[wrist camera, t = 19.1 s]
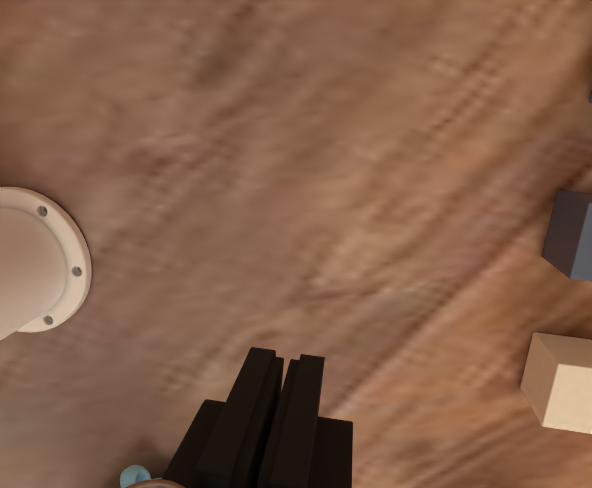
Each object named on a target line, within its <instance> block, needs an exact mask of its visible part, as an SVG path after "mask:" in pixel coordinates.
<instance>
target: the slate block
mask: <svg viewBox="0 0 592 488" xmlns="http://www.w3.org/2000/svg"><path fill="white" fill-rule="evenodd" d="M542 257H543V258H544V259H546V260H547V261H548V262H549V263H551V264H552V265H553V266H554V267H556V268H557V269H558V270H560V271H561V272H562V273H563V274H565V275H566V276H567V277H568V278H570V279H577V280H585V281H592V194H589V193H580V192H570V191H560V190H558V191H557V195H556V199H555V203H554V208H553V212H552V216H551V220H550V225H549V229H548V233H547V237H546V241H545V246H544V250H543V254H542Z"/></svg>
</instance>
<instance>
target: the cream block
mask: <svg viewBox="0 0 592 488" xmlns="http://www.w3.org/2000/svg"><path fill="white" fill-rule="evenodd" d="M520 389H521V391H522V393H523V394H524V396H525V398H526V399H527V401H528V403H529V405H530V406H531V408H532V410H533V411H534V413H535V415H536V417H537V418H538V420H539V422H540V423H541V425H542V426H543V427H550V428H556V429H563V430H570V431H577V432H583V433H590V434H592V340H591V339H583V338H575V337H568V336H560V335H552V334H545V333H537V332H534V333H533V336H532V340H531V345H530V349H529V353H528V357H527V361H526V365H525V369H524V374H523V378H522V382H521V386H520Z"/></svg>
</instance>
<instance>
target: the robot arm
mask: <svg viewBox="0 0 592 488" xmlns="http://www.w3.org/2000/svg"><path fill="white" fill-rule="evenodd" d="M91 272H92V265H91V259H90V253H89V250H88V247H87V244H86V242H85V239H84V237H83V235H82V233H81V232H80V230H79V228H78V226H77V225H76V223H75V222H74V221H73V220H72V218H71V217H70V216H69V215H68V214H67V213H66V212H65V211H64V210H63V209H62V208H61V207H60V206H59V205H58V204H56V203H55V202H53V201H52V200H50V199H49V198H47V197H45V196H44V195H42V194H39V193H37V192H34V191H32V190H29V189H24V188H20V187H0V341H1V340H2V339H4V338H6V337H7V336H9V335H10V334H12V333H13V332H15V331H19V332H39V331H46V330H48V329H51V328H54V327H57V326H58V325H60V324H61V323H63V322H64V321H66V320H67V319H69V318H70V317H71V316H72V315H73V314H75V313H76V312H77V311H78V309H79V308H80V307H81V305H82V304H83V303H84V301H85V298H86V296H87V294H88V292H89V288H90V283H91ZM324 360H325V357H319V356H311V355H304V354H301V356H300V360H294V359H291V360H290V363H289V367H288V371H287V374H286V378H285V381H284V385H283V388H282V392H281V387H282V376H283V365H284V358H280V357H276V351H275V350H269V349H262V348H255V347H251V349H250V351H249V353H248V355H247V357H246V359H245V362H244V364H243V366H242V368H241V370H240V372H239V375H238V377H237V379H236V381H235V383H234V385H233V388H232V390H231V392H230V394H229V396H228V398H227V401H226V402H221V401H214V400H208V399H207V400H205V401H204V402H203V404H202V405H201V407H200V409H199V411H198V413H197V414H196V416H195V418H194V420H193V422H192V424H191V426H190V427H189V429H188V431H187V433H186V435H185V437H184V439H183V440H182V442H181V444H180V446H179V448H178V450H177V452H176V453H175V455H174V457H173V459H172V461H171V463H170V464H169V466H168V468H167V470H166V472H165V474H164V476H163V477H162V479H154V480H144V481H141V482H137V483H134V484H131V485H129V486H128V487H126V488H352V442H353V422H350V421H344V420H337V419H331V418H324V417H318V411H319V403H320V394H321V386H322V377H323V368H324Z"/></svg>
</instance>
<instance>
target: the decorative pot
mask: <svg viewBox="0 0 592 488" xmlns="http://www.w3.org/2000/svg"><path fill="white" fill-rule="evenodd" d="M155 479H162V477H161V478H155ZM144 480H154V479H151V476H150V474H149V472H148V470H147V469H146V468H144V467H143V466H140V465H131V466H129V467H128V468H126V469H125V470H124V471H123V472H122V474H121V477H120V486H121V488H126V487H128V486H129V485H131V484H134V483H137V482H141V481H144Z"/></svg>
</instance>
